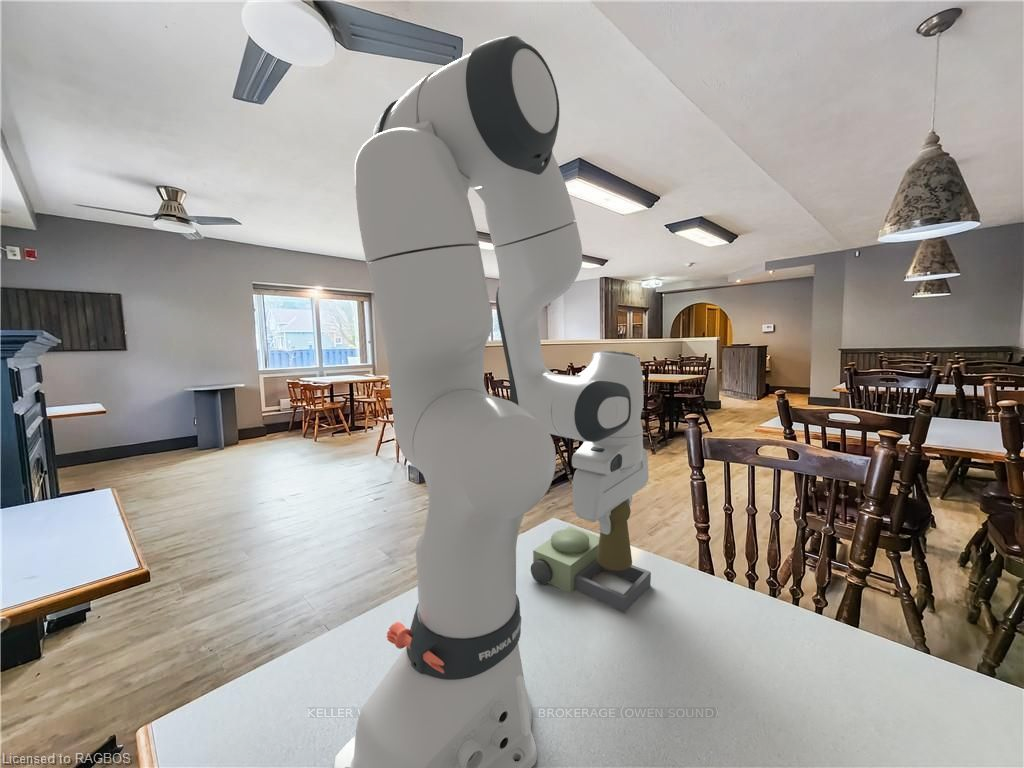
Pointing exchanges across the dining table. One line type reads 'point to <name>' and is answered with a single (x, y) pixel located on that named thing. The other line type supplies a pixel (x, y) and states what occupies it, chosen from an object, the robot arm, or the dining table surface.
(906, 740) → the dining table surface
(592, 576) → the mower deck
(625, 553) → the brown knobbed peg
